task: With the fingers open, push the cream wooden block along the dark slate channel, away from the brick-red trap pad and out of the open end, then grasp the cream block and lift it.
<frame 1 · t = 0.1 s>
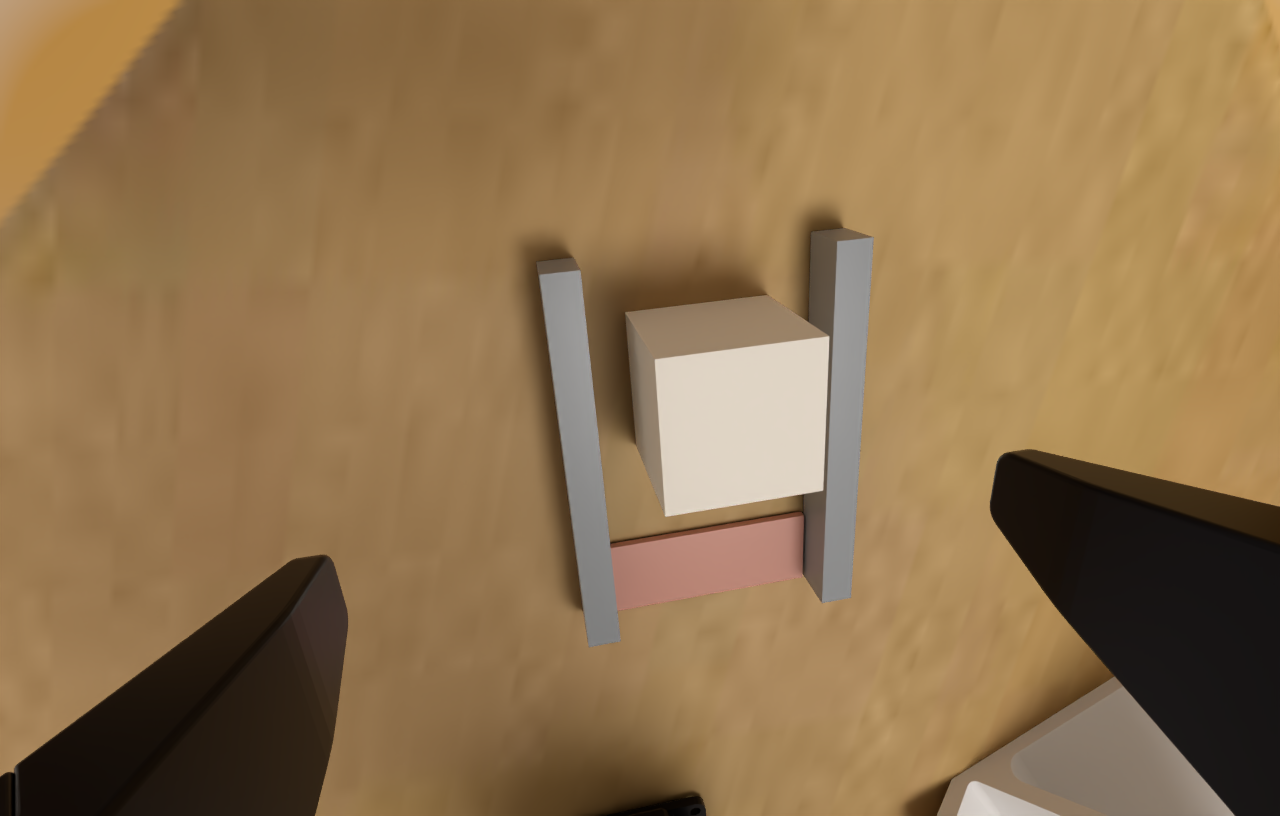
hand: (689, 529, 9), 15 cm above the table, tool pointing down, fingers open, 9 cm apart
cream block: (699, 371, 24), on the table
tube channel: (703, 435, 25), on the table
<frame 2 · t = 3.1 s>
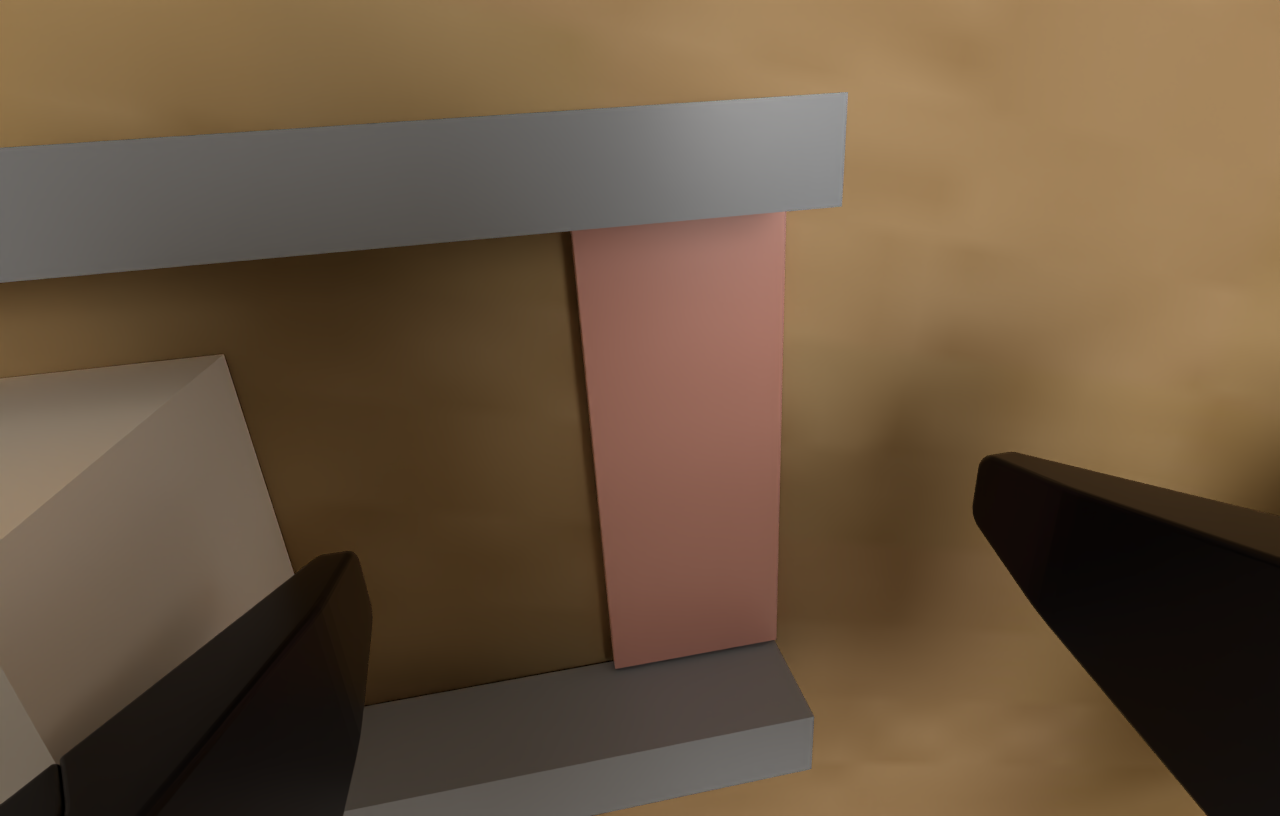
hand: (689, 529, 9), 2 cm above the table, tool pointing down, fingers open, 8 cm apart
cream block: (91, 538, 10), on the table, touching gripper
tube channel: (330, 504, 10), on the table
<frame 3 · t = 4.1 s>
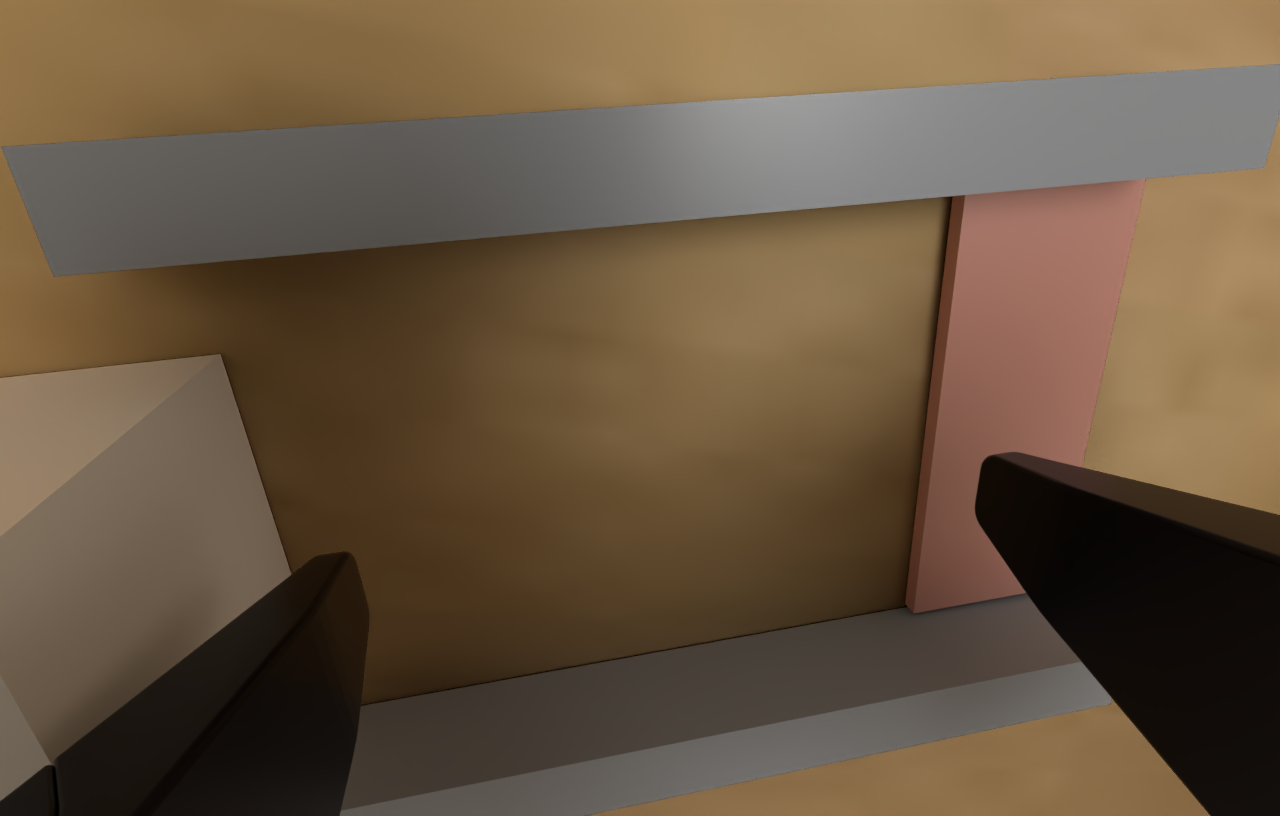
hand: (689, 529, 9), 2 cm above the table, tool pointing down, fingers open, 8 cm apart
cream block: (87, 538, 10), on the table, touching gripper
tube channel: (699, 452, 11), on the table
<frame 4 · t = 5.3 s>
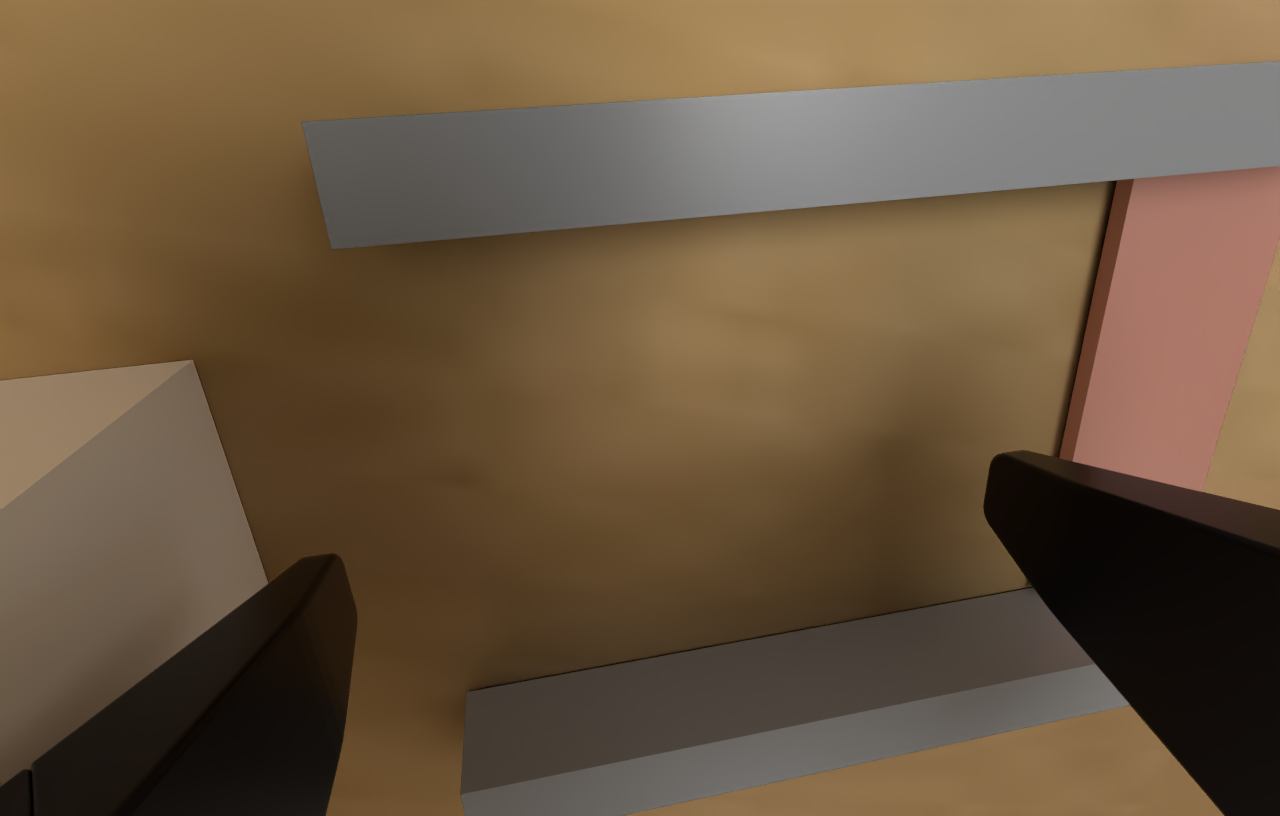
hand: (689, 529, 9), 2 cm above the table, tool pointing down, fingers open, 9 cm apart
cream block: (58, 547, 10), on the table, touching gripper
tube channel: (856, 432, 11), on the table
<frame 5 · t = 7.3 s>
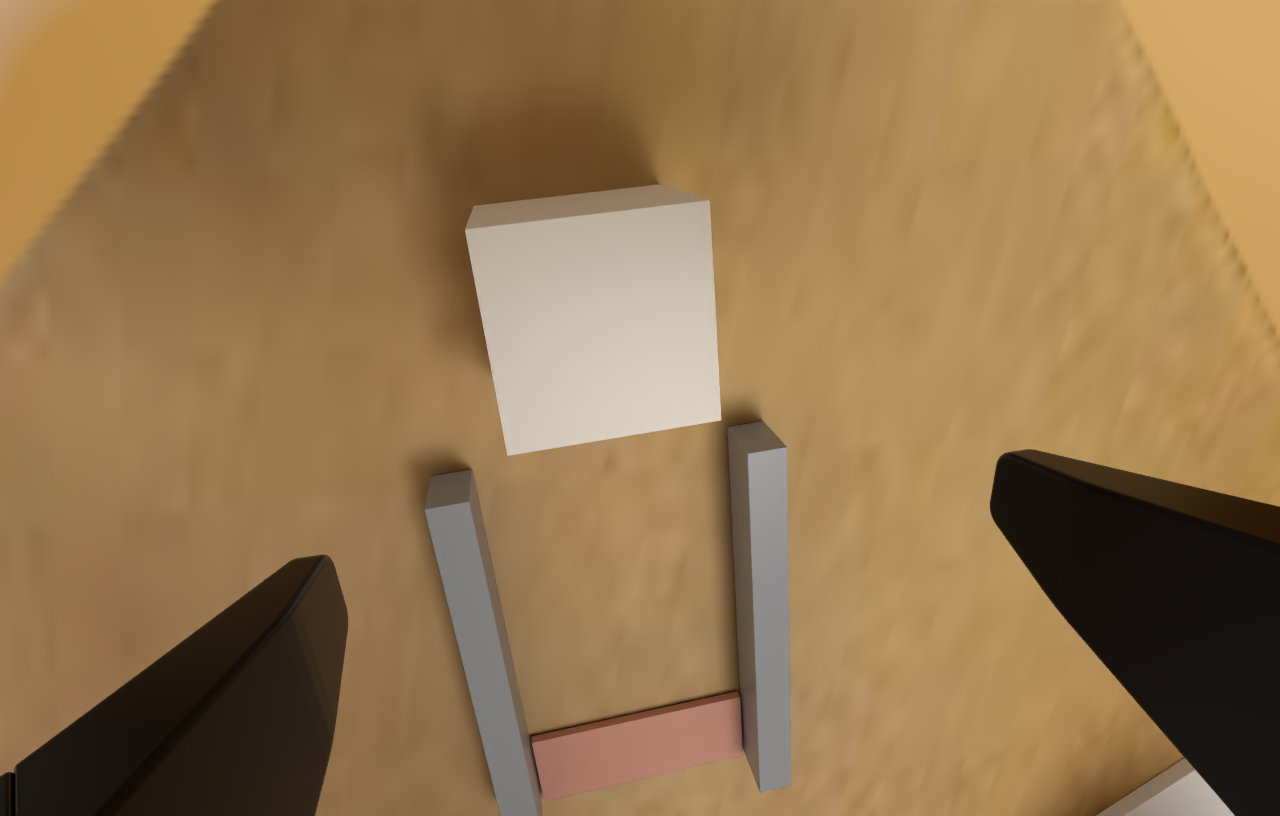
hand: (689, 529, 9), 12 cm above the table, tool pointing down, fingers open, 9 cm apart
cream block: (580, 286, 19), on the table
tube channel: (625, 627, 24), on the table
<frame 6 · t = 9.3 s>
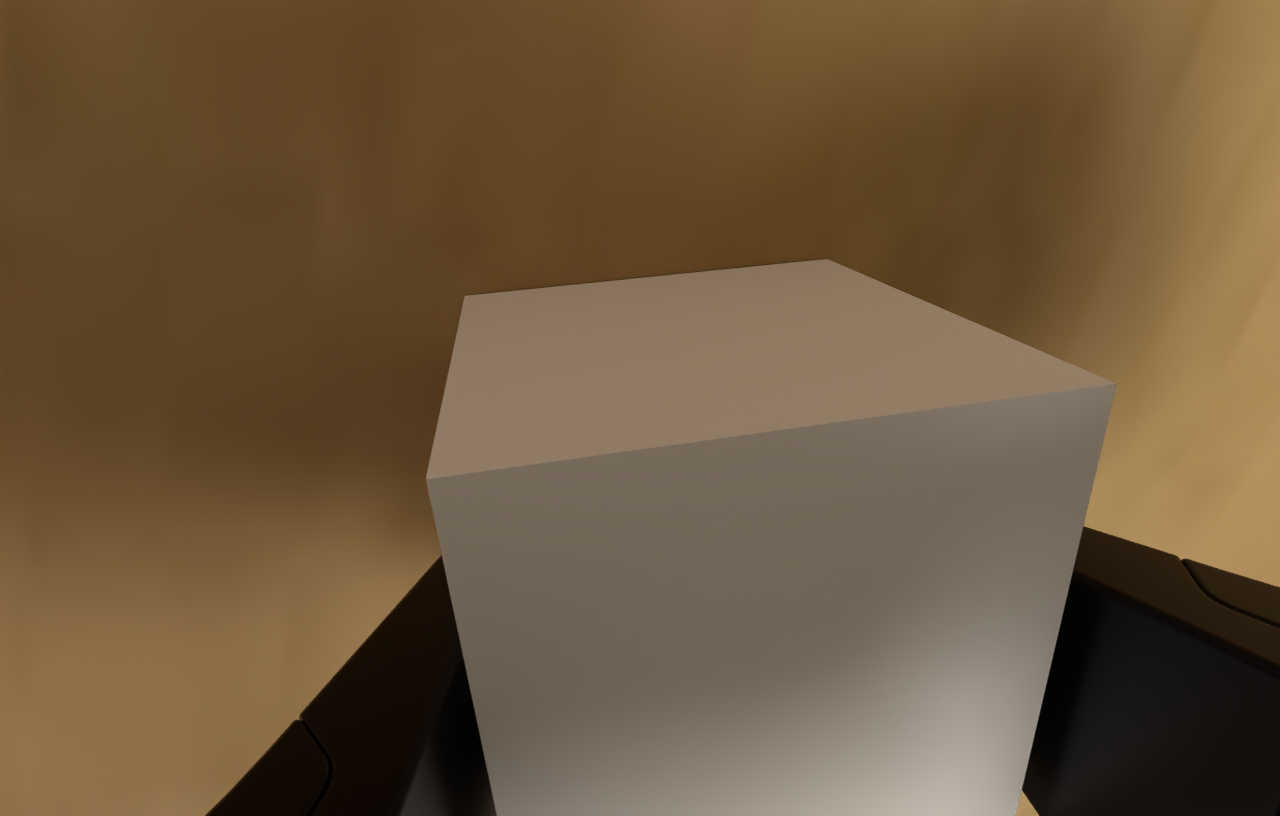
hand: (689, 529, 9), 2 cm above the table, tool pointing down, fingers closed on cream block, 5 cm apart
cream block: (661, 442, 10), on the table, touching gripper
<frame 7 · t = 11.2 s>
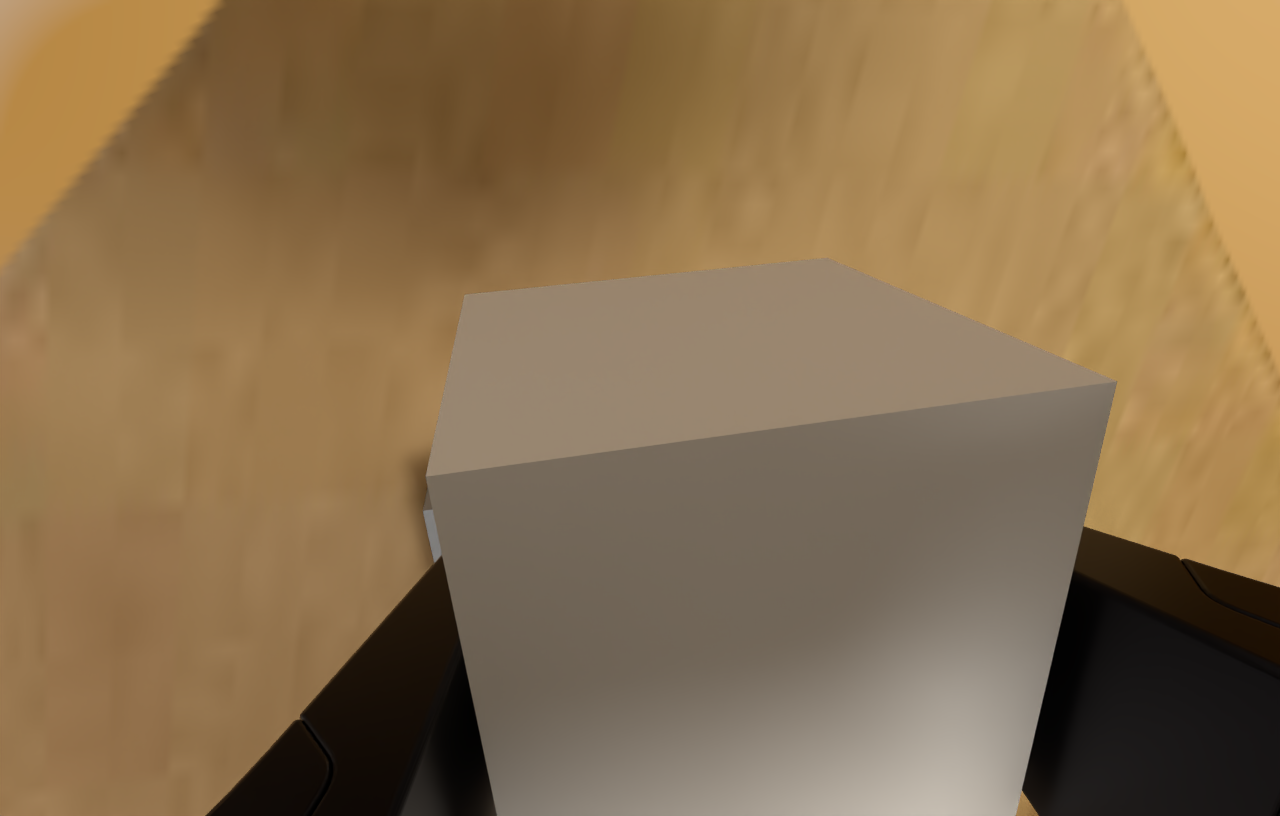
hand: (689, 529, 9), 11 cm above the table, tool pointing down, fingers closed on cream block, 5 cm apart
cream block: (661, 441, 10), point 10 cm above the table, touching gripper
tube channel: (618, 630, 24), on the table
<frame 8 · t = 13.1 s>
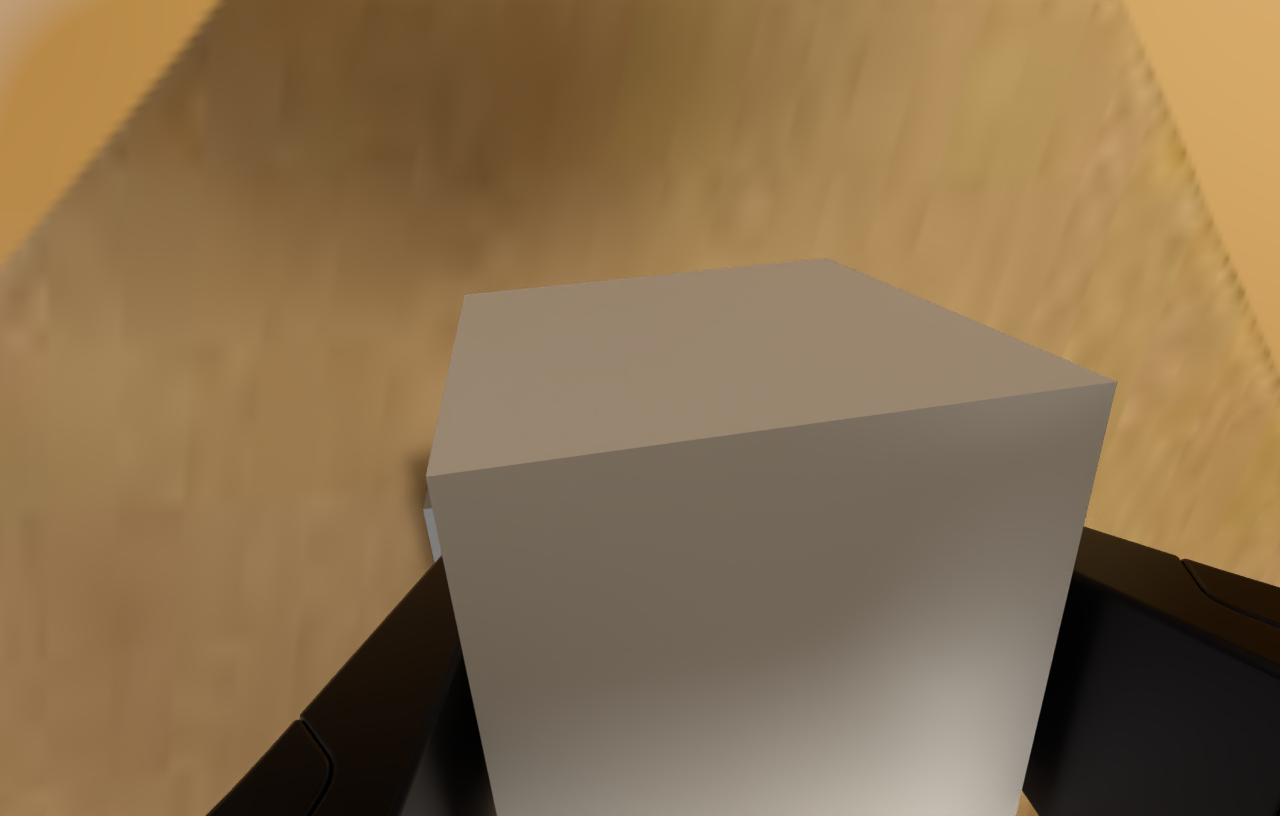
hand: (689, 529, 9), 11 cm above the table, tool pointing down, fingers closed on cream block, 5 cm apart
cream block: (661, 441, 10), point 10 cm above the table, touching gripper
tube channel: (618, 628, 24), on the table
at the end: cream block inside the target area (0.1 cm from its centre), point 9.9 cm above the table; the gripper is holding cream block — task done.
